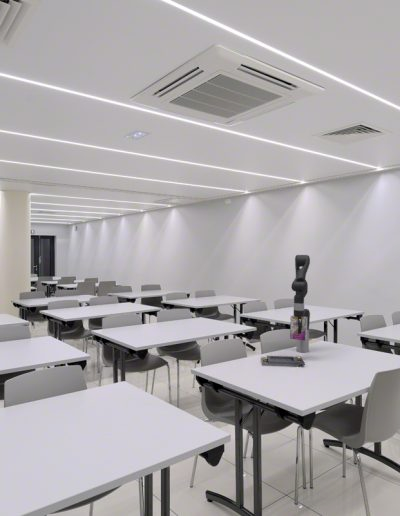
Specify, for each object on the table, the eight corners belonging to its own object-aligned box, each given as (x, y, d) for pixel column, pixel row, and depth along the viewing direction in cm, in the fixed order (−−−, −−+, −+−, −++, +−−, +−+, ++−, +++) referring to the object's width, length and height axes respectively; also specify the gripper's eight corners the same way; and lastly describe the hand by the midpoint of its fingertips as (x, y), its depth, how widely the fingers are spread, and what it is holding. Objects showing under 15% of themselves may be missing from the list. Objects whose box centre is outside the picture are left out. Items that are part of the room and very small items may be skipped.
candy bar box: (289, 338, 283) (290, 316, 283) (292, 337, 287) (292, 315, 287) (305, 340, 277) (305, 317, 277) (307, 339, 281) (307, 316, 281)
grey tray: (260, 359, 279) (261, 352, 279) (300, 361, 277) (301, 353, 277) (262, 365, 264) (262, 358, 264) (304, 367, 261) (304, 359, 261)
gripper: (306, 310, 274) (305, 334, 274) (302, 308, 289) (302, 330, 289) (295, 310, 275) (294, 334, 275) (292, 307, 289) (292, 330, 289)
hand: (298, 332), depth 282 cm, fingers closed on candy bar box, 6 cm apart
